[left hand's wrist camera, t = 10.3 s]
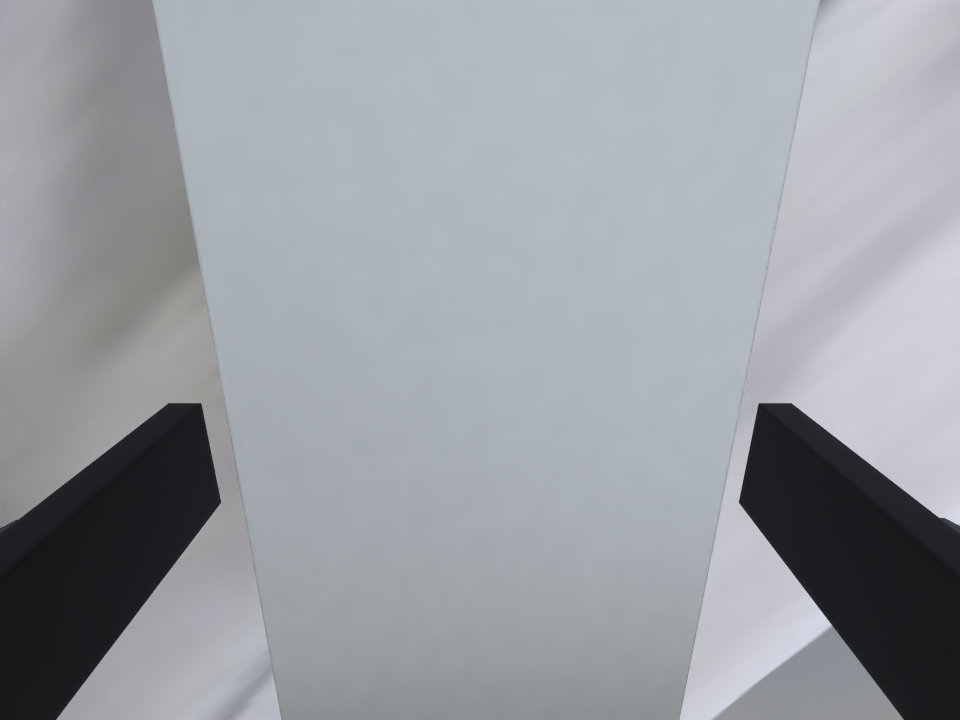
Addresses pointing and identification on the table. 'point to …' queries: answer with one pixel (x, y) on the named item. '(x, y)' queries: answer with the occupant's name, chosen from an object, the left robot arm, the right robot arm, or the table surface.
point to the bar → (483, 329)
